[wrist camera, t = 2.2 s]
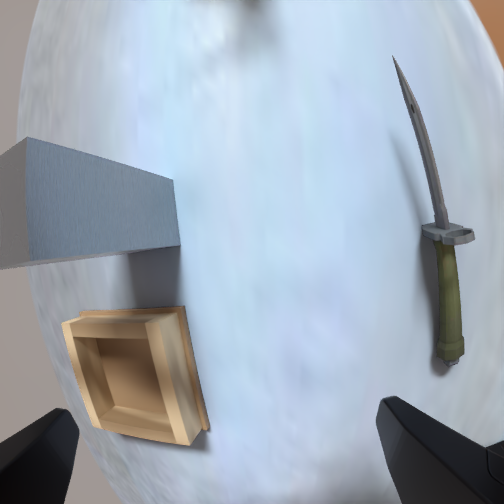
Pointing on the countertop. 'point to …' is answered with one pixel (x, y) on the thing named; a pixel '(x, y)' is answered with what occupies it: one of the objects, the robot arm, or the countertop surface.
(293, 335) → the countertop surface
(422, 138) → the knife
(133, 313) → the dock
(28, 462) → the robot arm
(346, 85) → the countertop surface
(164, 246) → the post
